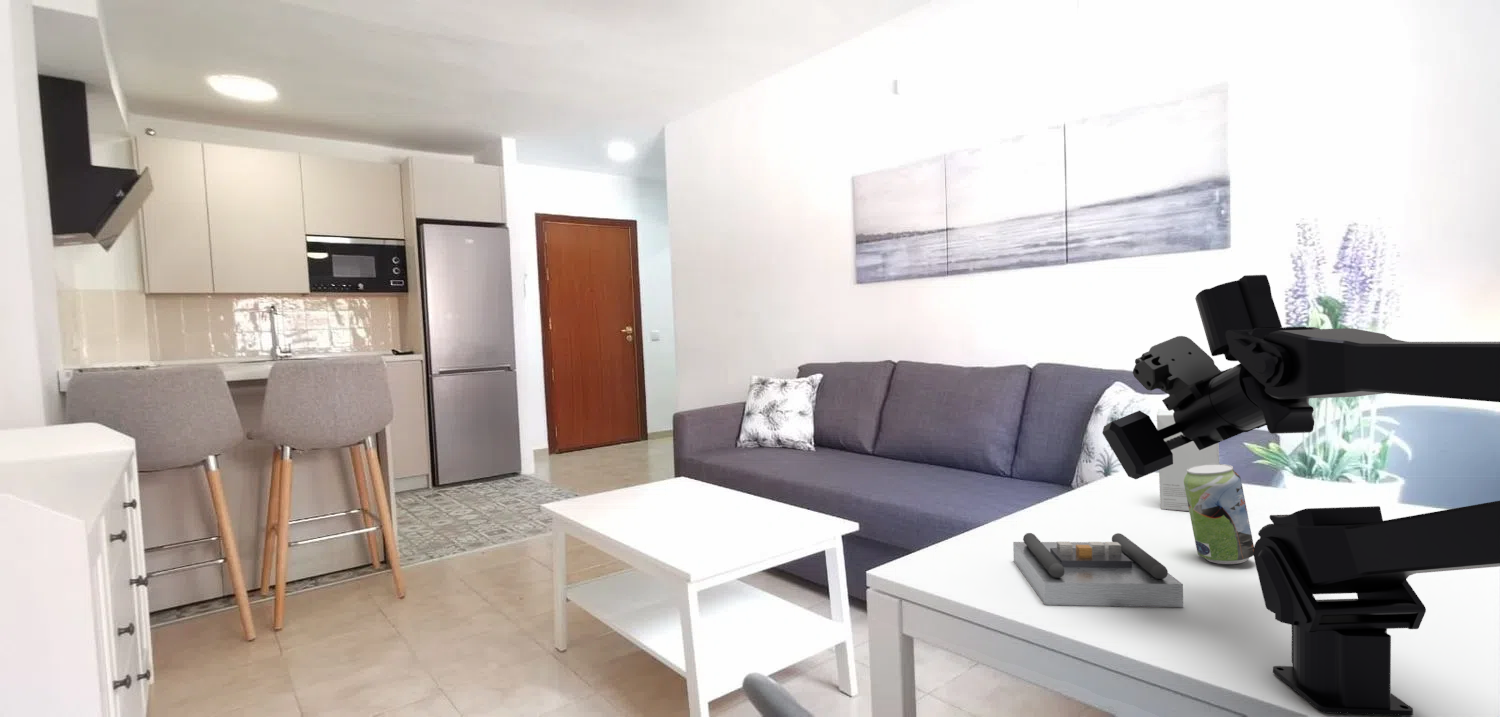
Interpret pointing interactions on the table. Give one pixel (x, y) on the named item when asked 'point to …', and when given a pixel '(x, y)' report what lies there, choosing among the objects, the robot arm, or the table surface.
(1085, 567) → the breaker panel
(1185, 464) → the skincare box
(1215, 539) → the beverage can
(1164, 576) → the dark grey rounded rod
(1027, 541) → the dark grey rounded bar
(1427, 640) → the table surface
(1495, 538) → the robot arm
